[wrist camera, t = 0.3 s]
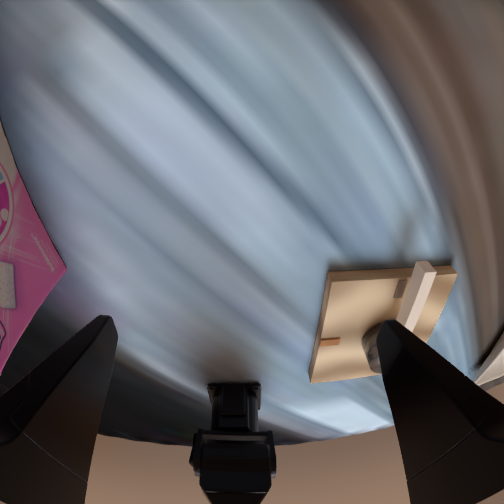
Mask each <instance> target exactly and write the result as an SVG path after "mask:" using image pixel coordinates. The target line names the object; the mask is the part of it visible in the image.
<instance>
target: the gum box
mask: <svg viewBox="0 0 504 504" xmlns="http://www.w3.org/2000/svg"><path fill="white" fill-rule="evenodd" d="M66 270H67V268H66V266H65V265H64V263H63V261H62V260H61V258H60V256H59V254H58V253H57V251H56V249H55V247H54V246H53V244H52V242H51V240H50V238H49V236H48V234H47V232H46V230H45V228H44V226H43V224H42V222H41V220H40V219H39V217H38V215H37V213H36V211H35V209H34V207H33V204H32V202H31V199H30V197H29V195H28V192H27V190H26V188H25V186H24V183H23V181H22V179H21V177H20V175H19V172H18V170H17V168H16V165H15V162H14V159H13V156H12V153H11V150H10V147H9V144H8V142H7V139H6V137H5V134H4V131H3V128H2V125H1V121H0V376H1V372H2V369H3V367H4V365H5V363H6V361H7V359H8V357H9V356H10V354H11V352H12V350H13V348H14V347H15V345H16V343H17V342H18V340H19V338H20V337H21V335H22V333H23V332H24V330H25V329H26V327H27V325H28V324H29V322H30V321H31V319H32V317H33V316H34V314H35V313H36V311H37V310H38V308H39V307H40V305H41V304H42V302H43V301H44V300H45V298H46V297H47V295H48V294H49V292H50V291H51V290H52V288H53V287H54V286H55V284H56V283H57V282H58V280H59V279H60V278H61V277H62V275H63V274H64V273H65V272H66Z"/></svg>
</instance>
